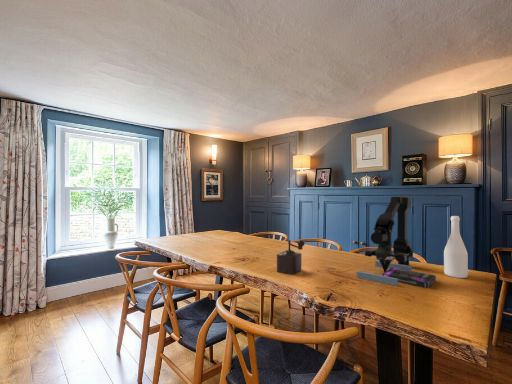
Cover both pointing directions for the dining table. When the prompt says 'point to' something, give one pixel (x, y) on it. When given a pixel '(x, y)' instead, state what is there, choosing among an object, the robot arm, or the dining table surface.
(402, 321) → the dining table surface
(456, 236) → the wine bottle
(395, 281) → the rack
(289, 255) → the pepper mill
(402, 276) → the box
